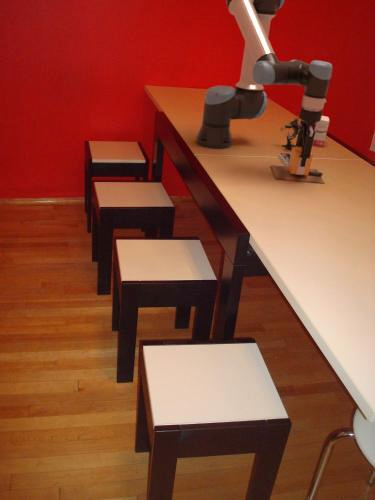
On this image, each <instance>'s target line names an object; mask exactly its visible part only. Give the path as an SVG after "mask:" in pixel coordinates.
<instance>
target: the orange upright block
mask: <svg viewBox="0 0 375 500" xmlns="http://www.w3.org/2000/svg"><path fill="white" fill-rule="evenodd" d="M290 151H291V152H290V155H291V156H290V160H289V165H288V168H289V170H290V173H291V174H296V172H297V167H298V163H299V156H301V152H302V147H301V146H299V147H297V146H296V147H292V150H290ZM313 157H314V153H312V151H311V154H310V158H308V159H307V163H306V167H305V172H304V175H308V174H309V170H310V169H311V166H312V165H311V164H312V160H313Z"/></svg>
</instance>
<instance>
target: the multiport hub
mask: <svg viewBox="0 0 375 500" xmlns="http://www.w3.org/2000/svg"><path fill="white" fill-rule="evenodd" d="M290 156H291V153H289V152H288V153H287V152H284V153H283V152H279V154H278V158H279V159H280V161H281V162H282V163H283V164H284V166H285V167H288V165H289V160H290Z"/></svg>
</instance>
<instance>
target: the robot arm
mask: <svg viewBox="0 0 375 500" xmlns="http://www.w3.org/2000/svg"><path fill="white" fill-rule="evenodd" d="M225 3H226V7H227V9H228V12H229V13H230V14H231V15H232V16H234V18H235V21H236V23H237V25H238V27H239V30H240V32H241V34H242V36H243V39H244V43H245V44H244V50H243V55H242V56H243V58H242V64H241V71H240V77H239V81H238V82H237V83H235V88H234V87H233V86H229V85H215V86H212V87H209V88H207V90H206V92H205V95H204V106H203V114H202V122H201V126H200V127H199V130H198V132H197V135H196V138H195V144H197V145H198V146H200V147H201V148H202V147H203V148H207V149H211V150H212V149H213V150H224V149H229V148H231V147H232V142H233V141H232V135H231V129H230V127H231V121H232V120H252V119H259V118H260V117H261V116H262V115H263V114H264V113H265V112H266V109H267V106H268V98H267V97H268V96H267V93H266V92H265V90H264V89H265V88H264V86H263V85H265V86H271V85H272V86H273V85H283V86H284V85H289V86H290V85H294V86H295V85H297V86H300V87H303V88H304V91H303V97H302V101H301V108H300V111H299V115H298V116H299V117H298V118H299V119H300V124H299V125H300V129H299V131H298V132H299V133H298V134H297V136H296V137H297V138H296V142H295V145H296V147H299V146H301V147H302V152H301V156H299V163H298V167H297V172H296V174H299V175H304V172H305V167H306V163H307V159H308V158H310V154H311V152H312V149H313V140H314V136H315V133H316V131H315V127H316V126H315V124H316V123H317V122H319V121H320V120H321V116H323V109H324V106H325V103H327V100H326V99H327V98H326V97H327V95H328V94H327V93H328V89H329V85H330V82H331V81H330V80H331V78H332V72H333V65H332V63H330V62H329V61H325V60H324V61H323V60H312V61H311V62H310V64H309V63H307V62H304V61H303V60H299V59H298V60H297V59H291V60H290V61H279V60H278V57H277V56H276V53H275V51H274V49H273V47H272V44H271V41H270V40H269V33H270V27H271V21H272V19H273V18H275V17H276V15H277V11H278V10H279V9H281V8H282V7H283V5H284V4H285V0H225Z"/></svg>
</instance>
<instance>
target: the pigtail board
mask: <svg viewBox="0 0 375 500" xmlns="http://www.w3.org/2000/svg"><path fill="white" fill-rule="evenodd" d="M270 171H271V173H272V175H273V177H274V179H275V180H276V181H284V182H294V183H295V182H298V183H309V184H319V183H320V184H321V185H325V184H326V182H325V181H324V179H323V177H322V176H323V175H324V174H323V172H320V171H318V169H315V168H310V170H309V174H308V175H299V174H291V173H290V170H289V168H288V167H287V166H286V165H284V166H283V165H282V166H281V165H274V164H271V165H270Z"/></svg>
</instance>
